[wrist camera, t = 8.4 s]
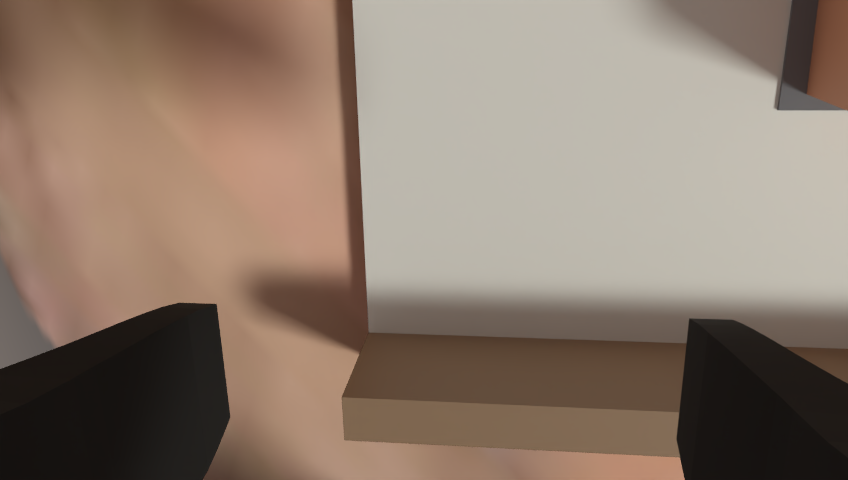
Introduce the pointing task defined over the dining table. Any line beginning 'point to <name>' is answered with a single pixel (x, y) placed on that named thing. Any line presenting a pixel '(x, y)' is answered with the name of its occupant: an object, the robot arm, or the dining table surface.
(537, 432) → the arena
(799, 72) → the pad
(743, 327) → the robot arm
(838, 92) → the bar
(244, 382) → the dining table surface
